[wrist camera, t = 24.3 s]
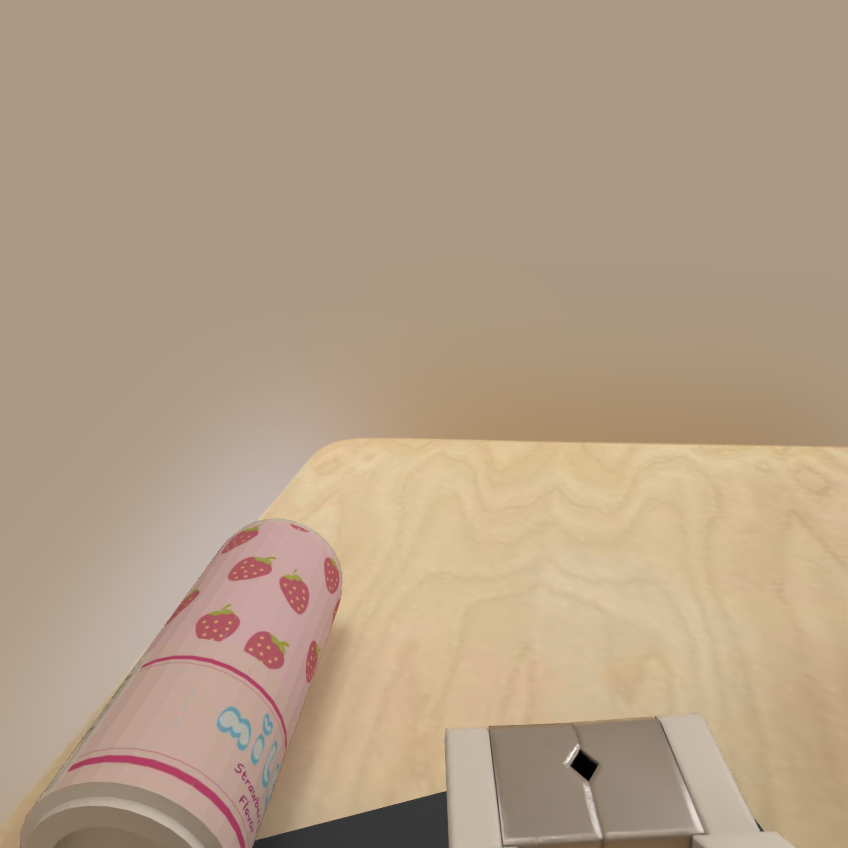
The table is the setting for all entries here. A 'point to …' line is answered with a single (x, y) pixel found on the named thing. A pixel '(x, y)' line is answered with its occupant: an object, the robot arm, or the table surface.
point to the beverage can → (203, 706)
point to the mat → (378, 828)
